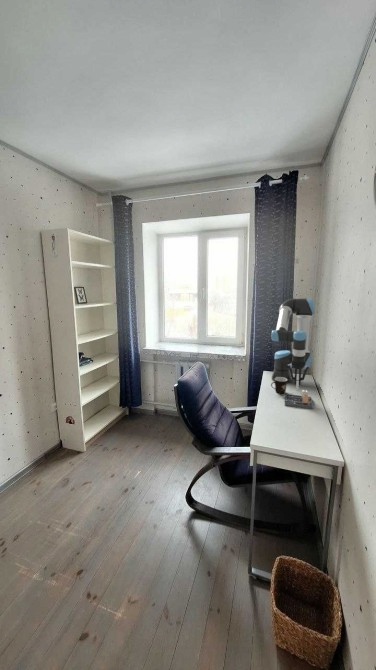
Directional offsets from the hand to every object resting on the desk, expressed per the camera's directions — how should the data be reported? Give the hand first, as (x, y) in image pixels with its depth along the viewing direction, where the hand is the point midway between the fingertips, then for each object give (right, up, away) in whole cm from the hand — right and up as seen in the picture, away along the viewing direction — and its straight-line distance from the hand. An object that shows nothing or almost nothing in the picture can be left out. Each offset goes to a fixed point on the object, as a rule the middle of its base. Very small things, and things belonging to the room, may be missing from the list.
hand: (297, 389), depth 179 cm
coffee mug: (-8, -5, +14) cm, 17 cm away
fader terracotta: (+2, -6, -8) cm, 10 cm away
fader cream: (+4, -5, -1) cm, 7 cm away
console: (0, -8, -3) cm, 8 cm away
